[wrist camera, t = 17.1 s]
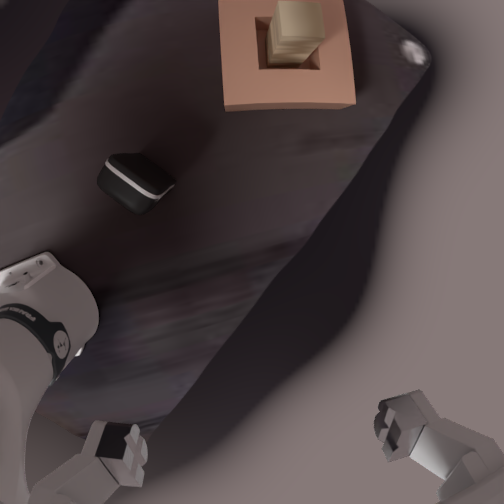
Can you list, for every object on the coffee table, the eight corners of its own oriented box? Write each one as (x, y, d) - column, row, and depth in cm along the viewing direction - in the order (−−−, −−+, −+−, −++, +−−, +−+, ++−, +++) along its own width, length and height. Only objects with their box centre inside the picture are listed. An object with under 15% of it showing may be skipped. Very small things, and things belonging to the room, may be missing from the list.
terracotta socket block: (225, 111, 37) (224, 105, 31) (219, 11, 32) (217, -8, 26) (339, 109, 37) (356, 104, 32) (328, 12, 33) (342, -4, 27)
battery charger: (122, 174, 38) (86, 184, 28) (137, 150, 38) (105, 152, 27) (162, 204, 40) (138, 224, 29) (179, 180, 39) (160, 193, 28)
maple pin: (266, 67, 34) (281, 35, 22) (264, 40, 33) (278, 0, 21) (298, 67, 34) (325, 37, 23) (295, 40, 33) (320, 3, 21)
